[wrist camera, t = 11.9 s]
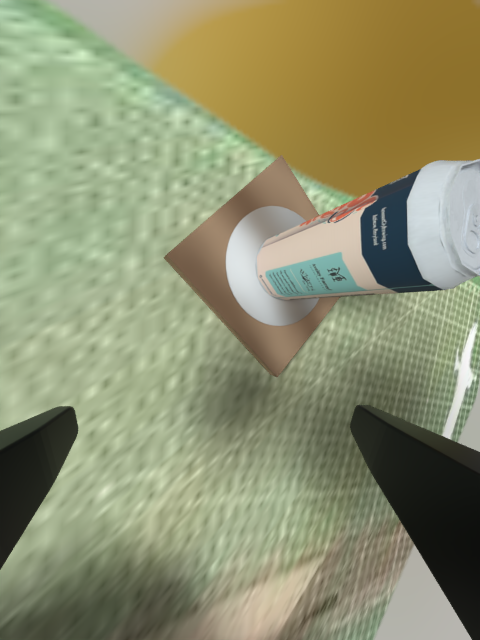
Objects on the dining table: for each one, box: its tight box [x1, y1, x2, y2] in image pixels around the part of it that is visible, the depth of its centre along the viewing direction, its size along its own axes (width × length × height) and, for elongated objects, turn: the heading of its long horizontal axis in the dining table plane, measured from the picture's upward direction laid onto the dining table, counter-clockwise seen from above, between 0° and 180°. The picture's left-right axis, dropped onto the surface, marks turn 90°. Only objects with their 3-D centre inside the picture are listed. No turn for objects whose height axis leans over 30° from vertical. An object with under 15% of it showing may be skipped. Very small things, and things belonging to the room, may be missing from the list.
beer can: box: [255, 159, 480, 300], centre depth 14 cm, size 5×5×12 cm
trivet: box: [164, 155, 340, 377], centre depth 20 cm, size 12×12×1 cm
